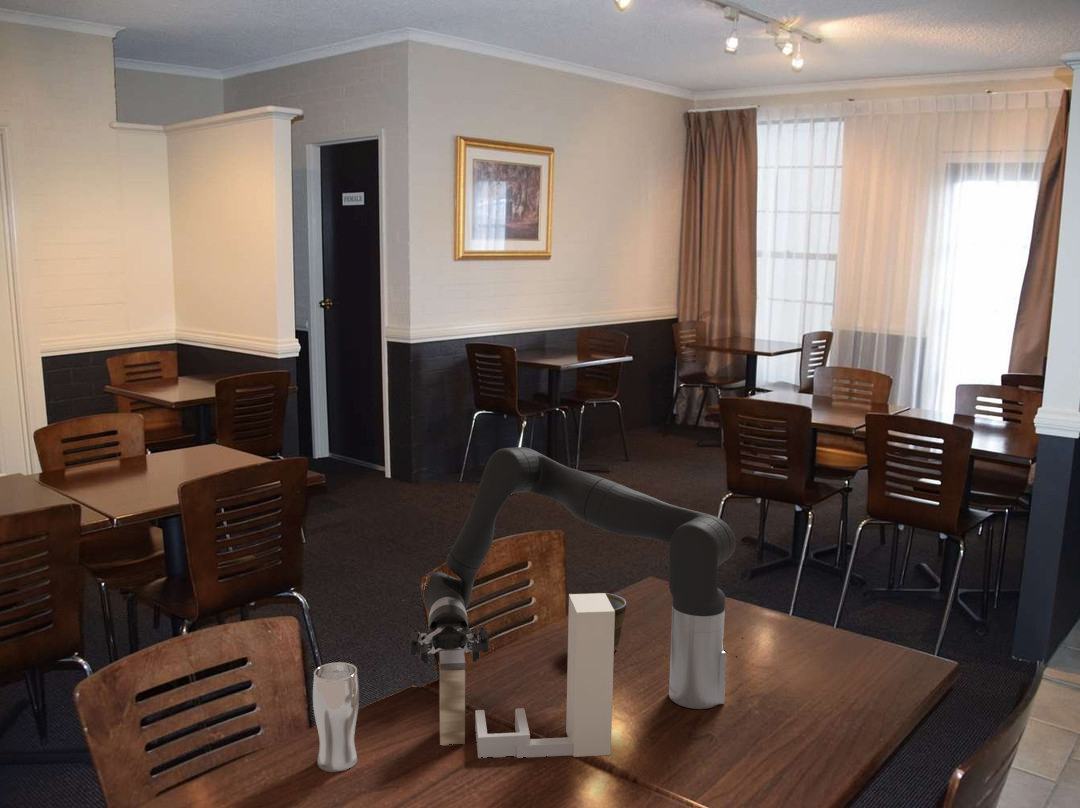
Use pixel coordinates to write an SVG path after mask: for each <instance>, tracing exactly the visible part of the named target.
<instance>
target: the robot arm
mask: <svg viewBox="0 0 1080 808" xmlns="http://www.w3.org/2000/svg"><path fill="white" fill-rule="evenodd" d="M522 493H524V494H525V493H529V494H533V495H538V496H541V497H545V498H547V499H551V500H553V501H556V502H557V503H559V504H560V505H562V506H563V507H564V508H565V509H566V510H568V512H570V514H571V515H573V516H574V517H575V518H576V519H578V520H579V521H581V522H583V523H585V524H588V525H590V526H593V527H595V528H596V529H597V528H598V529H599V530H602V531H604V532H608V533H610V534H615V535H620V536H628V537H635V538H643V539H644V538H645V539H650V540H651V539H653V540H657V541H661V542H663V543H666V544H668V587H669V591H670V594H671V597H672V608H671V609H672V610H671V614H672V615H671V635H670V637H671V638H670V660H669V664H670V665H669V683H668V687H669V688H668V689H669V690H668V691H669V692H668V697H669V699H670V700H671V701H672V702H674V703H675V704H676V705H679V706H682V707H684V708H688V709H693V710H694V709H695V710H696V709H697V710H705V709H710V708H713V707H716V706H718V705H723V704H725V697H726V696H725V694H726V693H725V691H726V675H727V673H726V672H727V652H725V651H724V650H723V639H724V632H725V613H726V611H725V610H726V609H725V608H726V596H725V592H723V590H722V589H720V588H718V567H719V566H721V565H722V564H724V563H725V562H726V561H728V559H730V558H731V557H732V555H733V554H734V552H735V550H736V546H737V540H736V536H735V533H734V532H733V530H732V528H731V527H730V525H729V524H728V523H726V521H725V520H722V519H721V518H720V517H718V516H715V515H712V514H709V513H705V512H700V511H696V510H693V509H689V508H685V507H680V506H678V505H675V504H671V503H668V502H665V501H662V500H660V499H657V498H655V497H653V496H650V495H649V494H645V493H643V492H640V491H638V490H635V489H634V488H633V489H632V488H630V487H628V486H626V485H624V484H620V483H617V482H616V481H613V480H610V479H607V478H604V477H602V476H599V475H596V474H592V473H589V472H586V471H582V470H579V469H575V468H571V467H568V466H567V465H566V466H565V465H564V464H562V463H559V462H557V461H555V460H554V459H551V458H550V457H548V456H546V455H544V454H543V453H540V452H538V451H536V450H534V449H532V448H529V447H524V446H523V447H520V446H516V447H504V448H500V449H497V450H496V451H495V452H493V453H492V454H491V456H490V457H489V459H488V461H487V463H486V465H485V467H484V470H483V473H482V475H481V480H480V481H479V485H478V488H477V491H476V494H475V496H474V499H473V503H472V505H471V508H470V511H469V513H468V516H467V518H466V520H465V523H464V525H463V526H462V529H461V530H460V532H459V534H458V536H457V538H456V540H455V541H454V544H453V545H452V547H451V549H450V551H449V552H448V555H447V557H446V563H445V564H446V566H447V567H448V569H449V570H450V571H451V572H452V573H454V575H456V576H457V577H459V578H460V579H459V578H456V577H454V576H452V575H449V574H447V573H445V572H443V571H437V572H436V571H433V573H432V572H430V573H431V574H430V573H429V574H430V575H432V576H431V577H430V580H429V581H428V584H426V585H427V586H425V590H423V592H424V598H423V592H422V587H421V590H420V591H421V593H420V594H421V600H422V603H423V604H424V606H425V608H426V609H427V610H428V612H429V614H428V625H427V626H428V630H427V631H426V632H423V633H421V632H419V629H417V628H415V629H412V630H411V634H410V638H409V654H410V655H412V656H416V655H417V654H419V661H420V662H423V664H428V663H429V659H428V658H429V656H428V655H429V654H432V655H433V654H436V653H437V652H440V651H449V650H464V654H465V653H471V661H472V663H475V662H476V663H477V660H479V659H480V658H481V652H483V653H489V651H490V648H489V643H490V638H489V635H488V632H487V628H486V627H484V626H482V627H479V628H478V630H477V631H472V629H470V628H469V622H468V621H469V620H468V613H467V611H466V610H467V609H468V607H469V606H470V603H471V599H472V594H473V589H474V584H475V580H476V577H477V574H478V572H479V569H480V568H481V566H482V564H483V562H484V561H485V559H486V557H487V555H488V553H489V551H490V549H491V547H492V544H493V542H494V537H495V535H494V534H495V528H496V527H495V525H496V521H497V518H498V515H499V512H500V511H501V508H502V507H503V505H504V504H505V502H507V500H508V499H509V497H510V496H512V494H513V495H514V494H522ZM435 572H436V573H435ZM429 574H428V575H429ZM430 575H429V576H430ZM423 589H424V586H423ZM424 599H425V602H424ZM425 604H426V605H425Z"/></svg>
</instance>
